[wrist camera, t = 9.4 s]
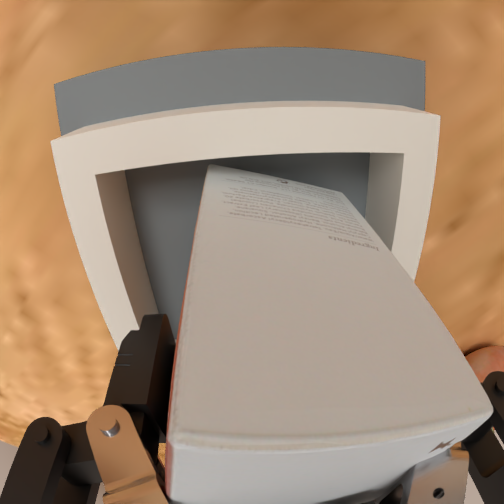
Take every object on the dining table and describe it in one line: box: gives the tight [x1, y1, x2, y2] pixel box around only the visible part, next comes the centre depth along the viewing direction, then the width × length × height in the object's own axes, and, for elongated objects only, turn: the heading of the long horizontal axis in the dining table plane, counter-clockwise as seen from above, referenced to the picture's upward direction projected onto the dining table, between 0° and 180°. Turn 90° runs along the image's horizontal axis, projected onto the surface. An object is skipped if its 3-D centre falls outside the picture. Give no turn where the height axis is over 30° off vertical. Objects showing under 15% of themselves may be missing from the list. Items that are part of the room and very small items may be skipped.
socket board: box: [51, 47, 441, 351], centre depth 14 cm, size 18×16×4 cm
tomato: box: [465, 346, 504, 433], centre depth 22 cm, size 11×11×8 cm
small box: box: [165, 164, 493, 504], centre depth 10 cm, size 8×6×10 cm
